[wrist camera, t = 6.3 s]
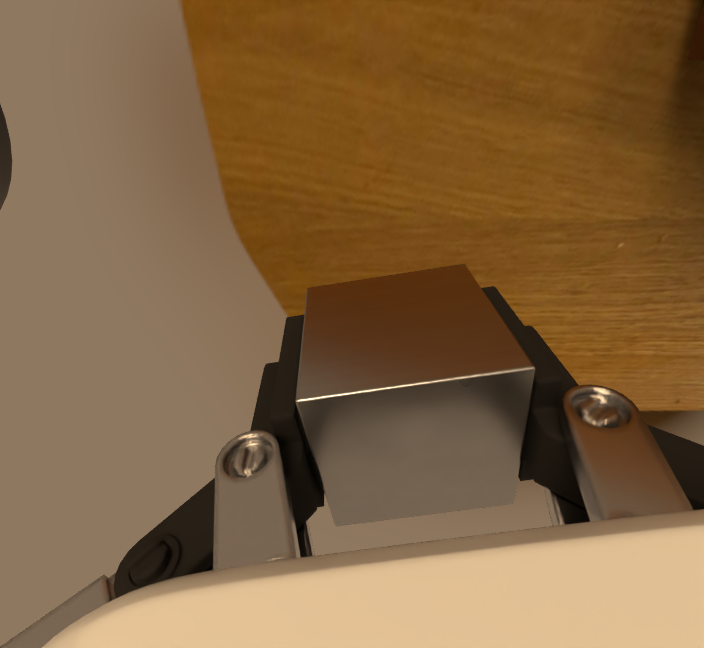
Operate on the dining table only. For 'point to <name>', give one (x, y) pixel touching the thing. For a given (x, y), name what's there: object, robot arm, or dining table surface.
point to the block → (412, 395)
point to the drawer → (698, 40)
